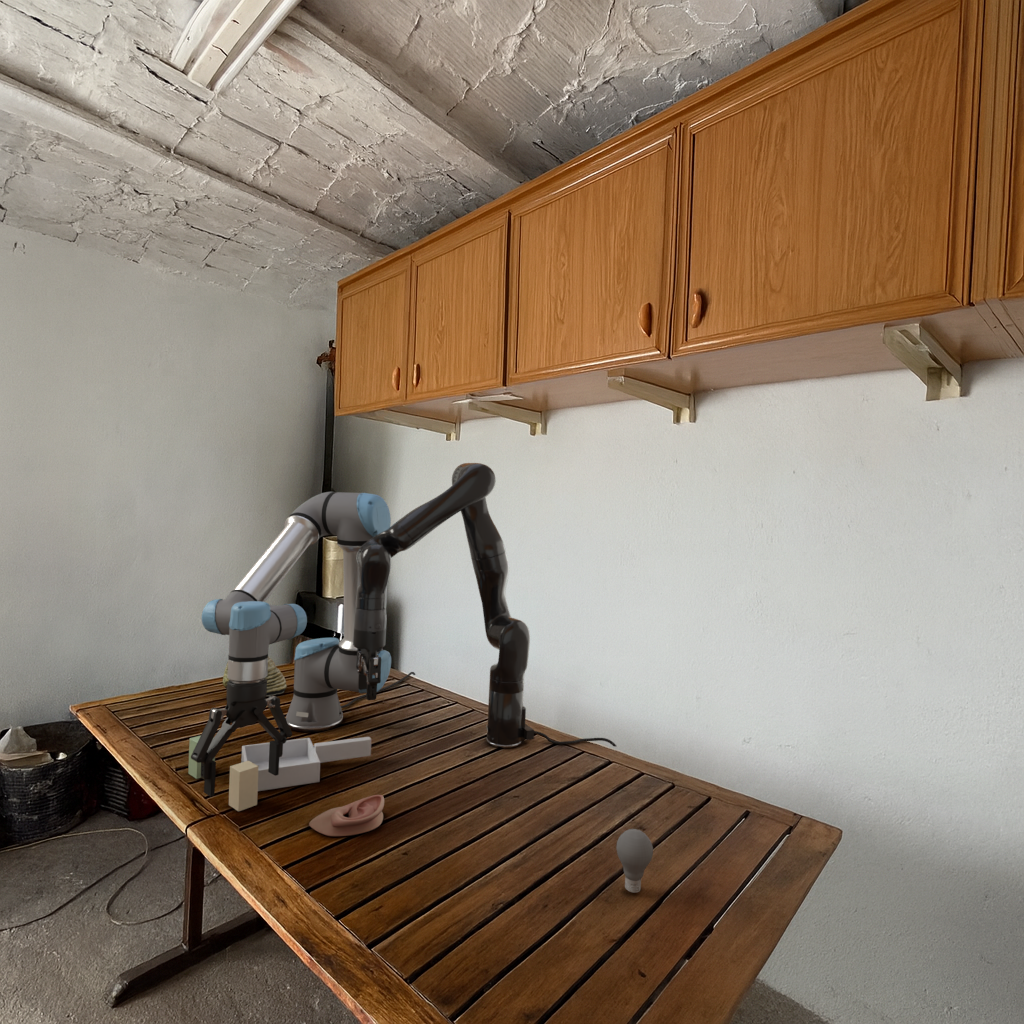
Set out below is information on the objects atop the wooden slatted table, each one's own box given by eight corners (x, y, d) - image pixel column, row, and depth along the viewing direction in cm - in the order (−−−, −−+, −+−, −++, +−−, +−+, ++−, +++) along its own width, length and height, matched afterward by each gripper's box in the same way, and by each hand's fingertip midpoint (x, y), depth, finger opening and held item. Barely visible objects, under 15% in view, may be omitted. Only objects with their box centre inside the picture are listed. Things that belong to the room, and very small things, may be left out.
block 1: (206, 768, 145) (207, 733, 145) (214, 773, 142) (215, 738, 142) (188, 773, 142) (189, 738, 142) (196, 779, 139) (197, 743, 139)
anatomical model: (301, 810, 119) (330, 784, 130) (300, 831, 119) (330, 803, 131) (367, 821, 117) (391, 793, 128) (366, 842, 117) (390, 813, 128)
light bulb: (610, 879, 108) (613, 822, 108) (644, 879, 109) (647, 822, 109) (619, 902, 102) (622, 840, 102) (655, 901, 103) (658, 840, 103)
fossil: (218, 695, 195) (220, 647, 195) (278, 685, 208) (279, 640, 207) (228, 703, 189) (230, 653, 188) (289, 692, 201) (290, 645, 201)
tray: (245, 793, 134) (246, 767, 134) (241, 764, 147) (242, 741, 147) (377, 773, 146) (378, 749, 146) (362, 748, 160) (363, 727, 160)
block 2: (247, 798, 132) (248, 760, 132) (257, 804, 129) (258, 766, 129) (228, 805, 129) (229, 766, 128) (238, 811, 126) (239, 772, 126)
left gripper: (292, 665, 140) (287, 760, 141) (175, 686, 121) (170, 797, 121) (311, 672, 136) (307, 770, 136) (193, 695, 116) (188, 810, 116)
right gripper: (347, 621, 155) (344, 687, 156) (361, 633, 143) (357, 705, 143) (378, 620, 159) (375, 684, 159) (393, 632, 146) (390, 702, 146)
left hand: (242, 783), depth 128 cm, fingers open, 13 cm apart
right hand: (366, 694), depth 151 cm, fingers open, 8 cm apart
